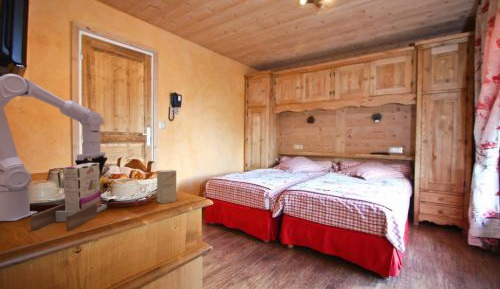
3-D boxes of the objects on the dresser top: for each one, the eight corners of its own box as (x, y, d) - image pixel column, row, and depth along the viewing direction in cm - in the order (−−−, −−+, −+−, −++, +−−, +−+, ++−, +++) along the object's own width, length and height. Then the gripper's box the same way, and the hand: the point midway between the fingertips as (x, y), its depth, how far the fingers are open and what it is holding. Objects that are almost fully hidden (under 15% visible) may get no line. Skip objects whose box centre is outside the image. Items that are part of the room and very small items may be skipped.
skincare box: (161, 204, 91) (161, 172, 90) (156, 201, 94) (156, 170, 94) (177, 201, 95) (176, 170, 95) (172, 198, 98) (171, 169, 98)
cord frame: (55, 221, 72) (55, 204, 72) (104, 199, 97) (104, 186, 97) (80, 221, 72) (80, 204, 72) (123, 199, 97) (123, 186, 97)
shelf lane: (30, 230, 66) (30, 216, 66) (63, 216, 77) (63, 203, 77) (70, 230, 66) (69, 216, 66) (97, 215, 78) (96, 203, 77)
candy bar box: (86, 209, 84) (85, 162, 83) (101, 209, 84) (100, 162, 84) (63, 221, 73) (62, 167, 72) (80, 221, 73) (79, 167, 72)
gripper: (90, 143, 88) (90, 179, 89) (112, 141, 103) (112, 173, 103) (70, 143, 88) (71, 179, 89) (95, 141, 103) (96, 173, 103)
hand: (92, 176), depth 96 cm, fingers open, 7 cm apart
